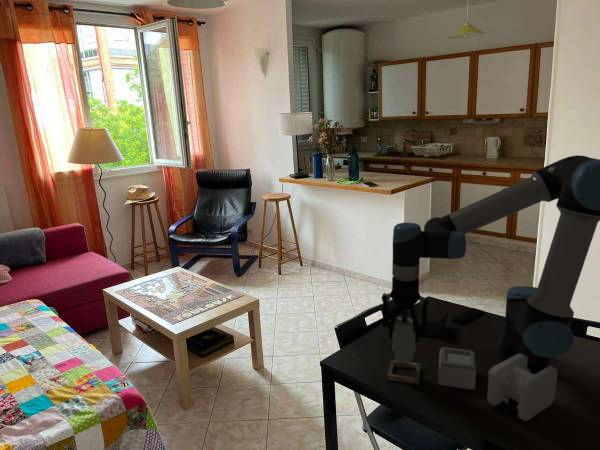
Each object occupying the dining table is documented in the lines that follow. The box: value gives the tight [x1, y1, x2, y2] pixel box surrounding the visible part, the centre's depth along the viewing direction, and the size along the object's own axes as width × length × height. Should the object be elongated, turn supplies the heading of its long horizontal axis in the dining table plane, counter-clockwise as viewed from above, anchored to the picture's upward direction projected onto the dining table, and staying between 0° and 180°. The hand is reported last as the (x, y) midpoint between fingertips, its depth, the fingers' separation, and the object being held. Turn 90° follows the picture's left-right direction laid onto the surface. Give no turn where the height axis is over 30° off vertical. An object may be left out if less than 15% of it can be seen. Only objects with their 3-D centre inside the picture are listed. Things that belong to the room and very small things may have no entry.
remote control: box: [451, 307, 484, 326], centre depth 170 cm, size 5×2×15 cm
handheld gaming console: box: [419, 312, 449, 339], centre depth 160 cm, size 12×7×10 cm
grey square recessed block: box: [437, 346, 477, 391], centre depth 132 cm, size 10×10×7 cm
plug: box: [393, 310, 414, 363], centre depth 132 cm, size 5×5×15 cm
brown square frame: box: [386, 359, 421, 386], centre depth 135 cm, size 9×9×2 cm
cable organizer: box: [486, 354, 558, 422], centre depth 118 cm, size 15×11×12 cm
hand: (403, 349), depth 134 cm, fingers closed on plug, 5 cm apart
